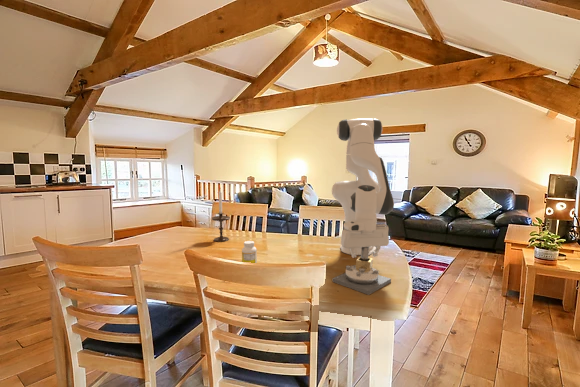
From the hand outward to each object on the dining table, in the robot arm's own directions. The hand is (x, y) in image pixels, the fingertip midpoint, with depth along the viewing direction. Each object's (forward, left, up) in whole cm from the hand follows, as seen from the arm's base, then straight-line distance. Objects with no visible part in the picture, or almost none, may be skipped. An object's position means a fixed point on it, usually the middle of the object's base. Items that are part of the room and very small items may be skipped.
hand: (364, 256), depth 127 cm
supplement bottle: (+29, -42, -10) cm, 52 cm away
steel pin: (0, 0, -5) cm, 5 cm away
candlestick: (+11, -96, -10) cm, 97 cm away
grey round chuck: (+4, +1, -8) cm, 9 cm away
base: (+4, +2, -9) cm, 10 cm away
